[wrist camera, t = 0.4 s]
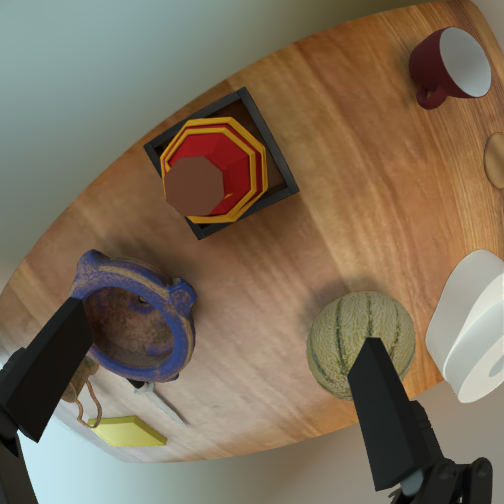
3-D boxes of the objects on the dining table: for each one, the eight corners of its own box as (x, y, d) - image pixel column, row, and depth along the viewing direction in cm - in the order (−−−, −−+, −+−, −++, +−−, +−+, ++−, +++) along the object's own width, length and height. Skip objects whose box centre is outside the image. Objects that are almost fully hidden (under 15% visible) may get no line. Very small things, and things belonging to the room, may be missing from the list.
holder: (246, 90, 27) (245, 86, 24) (296, 185, 32) (299, 191, 29) (152, 144, 30) (142, 146, 27) (203, 231, 34) (198, 240, 32)
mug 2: (432, 126, 28) (481, 132, 18) (383, 97, 27) (427, 89, 18) (448, 64, 23) (494, 56, 14) (401, 33, 22) (443, 12, 13)
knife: (101, 361, 42) (119, 357, 41) (106, 352, 44) (124, 347, 44) (178, 433, 52) (196, 432, 51) (180, 425, 54) (197, 423, 53)
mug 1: (97, 393, 51) (80, 432, 40) (45, 339, 45) (18, 376, 34) (128, 387, 49) (110, 432, 38) (69, 326, 42) (39, 369, 31)
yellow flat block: (135, 415, 54) (84, 419, 59) (133, 422, 52) (82, 425, 57) (167, 438, 58) (113, 440, 63) (165, 445, 56) (111, 446, 61)
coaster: (488, 123, 26) (490, 123, 25) (516, 145, 26) (519, 146, 26) (478, 177, 30) (481, 178, 29) (507, 194, 30) (509, 194, 30)
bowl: (223, 268, 36) (213, 314, 27) (186, 354, 43) (173, 401, 34) (102, 218, 34) (61, 248, 25) (90, 313, 41) (63, 351, 32)
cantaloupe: (408, 292, 38) (455, 358, 24) (354, 357, 43) (378, 428, 30) (336, 253, 35) (377, 326, 22) (281, 332, 41) (289, 415, 27)
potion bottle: (168, 189, 32) (111, 234, 18) (194, 107, 28) (145, 91, 14) (250, 217, 33) (245, 280, 20) (281, 136, 29) (303, 140, 16)
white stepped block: (508, 236, 33) (556, 270, 21) (488, 335, 43) (517, 374, 30) (430, 268, 36) (480, 320, 23) (420, 369, 46) (444, 418, 33)
